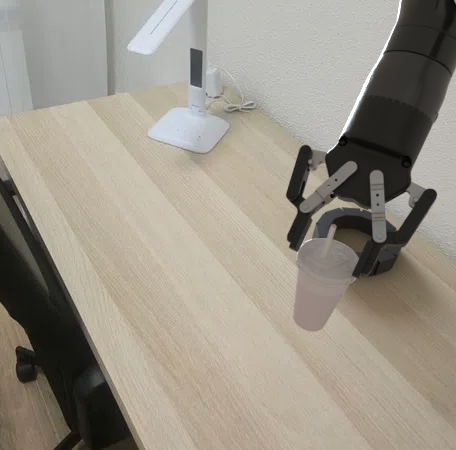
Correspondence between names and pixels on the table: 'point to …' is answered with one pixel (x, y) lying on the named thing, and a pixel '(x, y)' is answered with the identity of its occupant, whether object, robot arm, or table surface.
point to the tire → (362, 222)
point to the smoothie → (321, 279)
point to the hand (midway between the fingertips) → (324, 262)
